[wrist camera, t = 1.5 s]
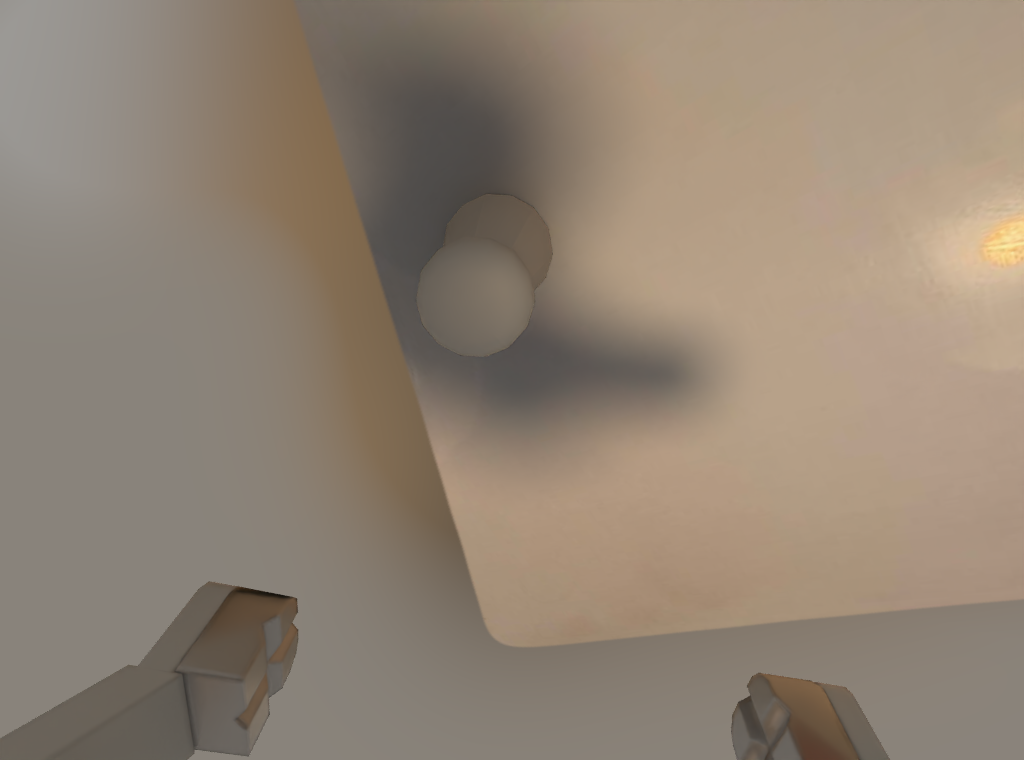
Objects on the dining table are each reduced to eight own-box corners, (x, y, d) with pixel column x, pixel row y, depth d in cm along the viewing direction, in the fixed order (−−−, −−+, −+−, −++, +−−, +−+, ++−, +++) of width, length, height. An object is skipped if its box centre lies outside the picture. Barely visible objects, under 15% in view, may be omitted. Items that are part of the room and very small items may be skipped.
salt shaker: (451, 290, 31) (391, 379, 19) (449, 188, 29) (380, 218, 17) (549, 294, 31) (550, 387, 19) (555, 192, 28) (560, 225, 17)
